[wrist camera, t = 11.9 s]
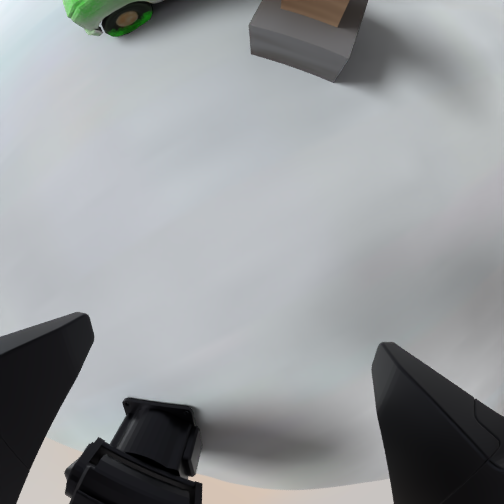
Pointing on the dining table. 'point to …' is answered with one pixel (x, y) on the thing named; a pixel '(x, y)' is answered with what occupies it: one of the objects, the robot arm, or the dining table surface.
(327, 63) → the tall wooden pillar block
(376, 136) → the dining table surface
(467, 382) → the dining table surface
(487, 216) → the dining table surface
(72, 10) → the toy car
